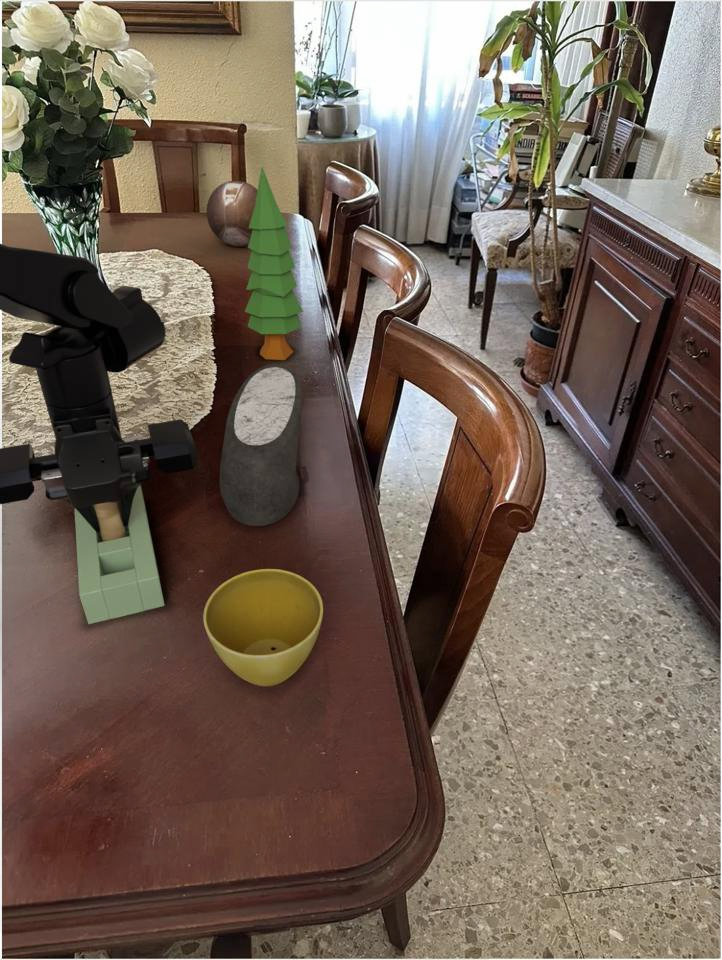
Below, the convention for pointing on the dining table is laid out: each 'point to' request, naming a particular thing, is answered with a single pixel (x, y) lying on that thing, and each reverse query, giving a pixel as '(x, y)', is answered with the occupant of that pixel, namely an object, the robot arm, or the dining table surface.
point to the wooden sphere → (232, 212)
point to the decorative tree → (271, 276)
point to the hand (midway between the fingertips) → (111, 526)
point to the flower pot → (264, 624)
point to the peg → (110, 521)
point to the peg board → (118, 568)
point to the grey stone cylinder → (262, 447)
